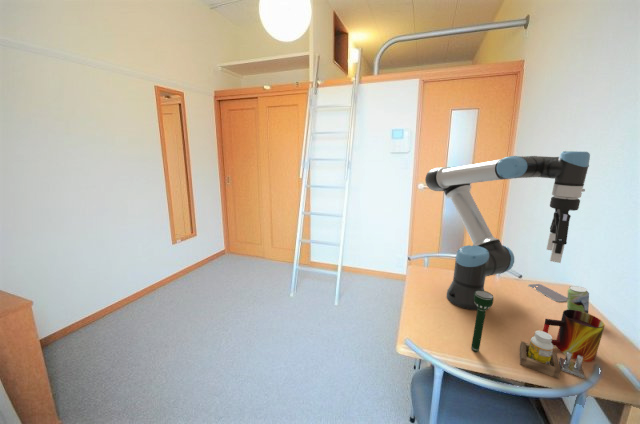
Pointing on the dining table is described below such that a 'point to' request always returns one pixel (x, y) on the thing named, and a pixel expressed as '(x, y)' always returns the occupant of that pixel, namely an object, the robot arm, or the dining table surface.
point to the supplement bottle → (541, 347)
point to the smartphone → (549, 293)
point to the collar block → (539, 366)
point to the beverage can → (578, 299)
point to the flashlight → (480, 315)
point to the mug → (577, 334)
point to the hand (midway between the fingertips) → (552, 255)
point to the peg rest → (572, 365)
